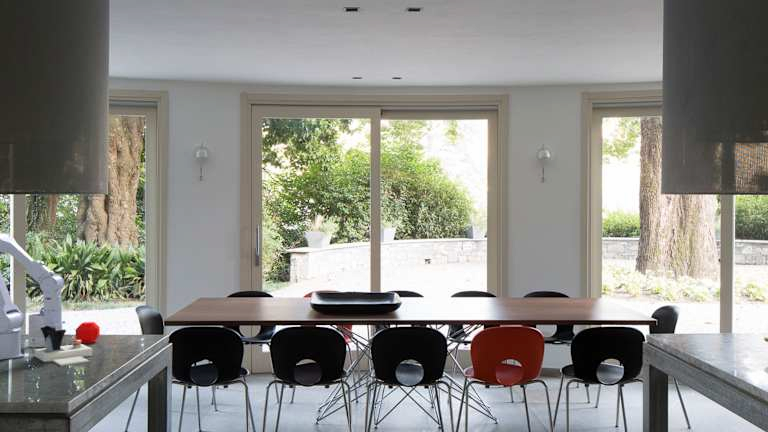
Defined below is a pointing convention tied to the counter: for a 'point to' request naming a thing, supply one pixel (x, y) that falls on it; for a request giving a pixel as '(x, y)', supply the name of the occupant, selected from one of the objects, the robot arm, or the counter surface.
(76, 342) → the plunger
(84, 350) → the white panel with holes
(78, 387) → the counter surface
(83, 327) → the ball
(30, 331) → the ink cartridge box
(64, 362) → the stone coaster
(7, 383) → the counter surface
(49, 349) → the capped blue cylinder
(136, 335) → the counter surface
